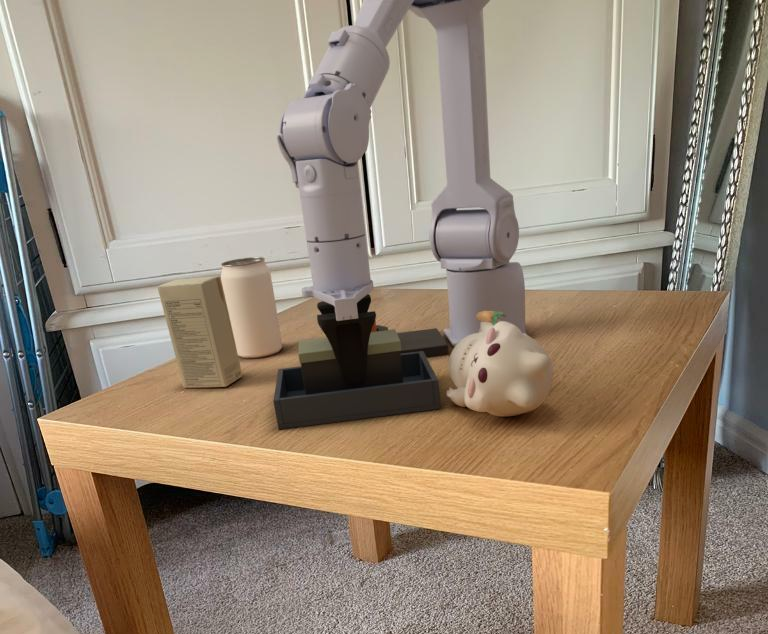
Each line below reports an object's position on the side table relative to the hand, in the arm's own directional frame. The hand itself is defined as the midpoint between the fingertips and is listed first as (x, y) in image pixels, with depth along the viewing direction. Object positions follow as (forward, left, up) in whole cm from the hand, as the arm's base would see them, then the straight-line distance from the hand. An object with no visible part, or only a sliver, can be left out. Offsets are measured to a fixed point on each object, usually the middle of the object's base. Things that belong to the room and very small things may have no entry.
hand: (353, 374), depth 78 cm
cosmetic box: (+17, -14, -3) cm, 22 cm away
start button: (-2, -18, 0) cm, 18 cm away
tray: (0, 0, -3) cm, 3 cm away
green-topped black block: (0, 0, -1) cm, 1 cm away
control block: (-6, -18, -3) cm, 19 cm away
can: (+12, -26, -3) cm, 29 cm away
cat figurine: (-14, +8, -3) cm, 16 cm away
